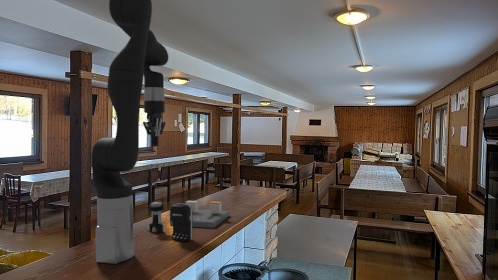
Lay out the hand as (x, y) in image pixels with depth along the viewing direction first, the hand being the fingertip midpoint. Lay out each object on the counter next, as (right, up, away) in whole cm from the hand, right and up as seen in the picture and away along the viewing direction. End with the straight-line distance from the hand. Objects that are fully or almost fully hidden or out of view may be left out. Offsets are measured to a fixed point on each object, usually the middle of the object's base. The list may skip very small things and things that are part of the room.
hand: (155, 146), depth 135 cm
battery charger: (+14, -30, -21) cm, 39 cm away
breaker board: (+17, -29, +3) cm, 33 cm away
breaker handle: (+23, -26, +4) cm, 35 cm away
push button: (+3, -30, -11) cm, 32 cm away
